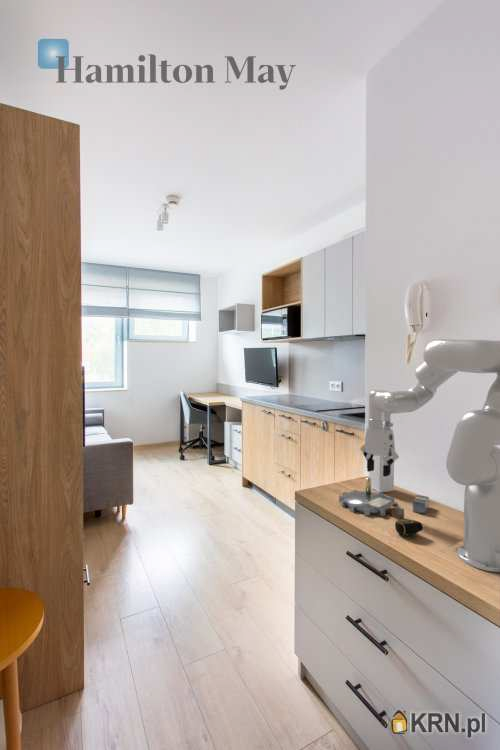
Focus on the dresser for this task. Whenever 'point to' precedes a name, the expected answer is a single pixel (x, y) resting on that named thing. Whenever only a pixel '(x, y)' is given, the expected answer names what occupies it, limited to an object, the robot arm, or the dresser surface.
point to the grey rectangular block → (421, 504)
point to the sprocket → (368, 501)
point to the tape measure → (408, 526)
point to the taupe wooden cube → (397, 512)
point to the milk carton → (381, 476)
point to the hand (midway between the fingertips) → (378, 472)
